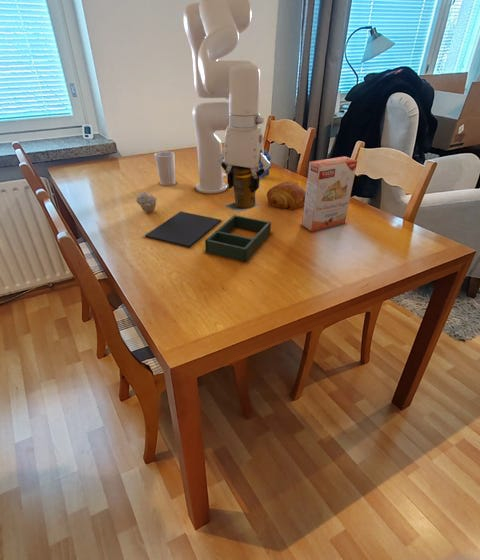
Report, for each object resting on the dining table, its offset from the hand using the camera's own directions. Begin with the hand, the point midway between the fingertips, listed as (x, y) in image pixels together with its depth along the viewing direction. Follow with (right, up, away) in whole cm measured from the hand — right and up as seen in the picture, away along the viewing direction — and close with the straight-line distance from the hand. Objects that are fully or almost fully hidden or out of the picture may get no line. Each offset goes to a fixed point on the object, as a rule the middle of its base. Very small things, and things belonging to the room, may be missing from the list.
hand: (243, 188), depth 100 cm
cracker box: (+27, -8, +17) cm, 32 cm away
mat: (-19, -9, +14) cm, 25 cm away
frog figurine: (-33, -2, +25) cm, 42 cm away
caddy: (-1, -15, +6) cm, 16 cm away
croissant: (+17, +3, +32) cm, 37 cm away
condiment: (0, -5, +3) cm, 5 cm away
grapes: (+10, +19, +56) cm, 60 cm away
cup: (-31, +15, +50) cm, 61 cm away
